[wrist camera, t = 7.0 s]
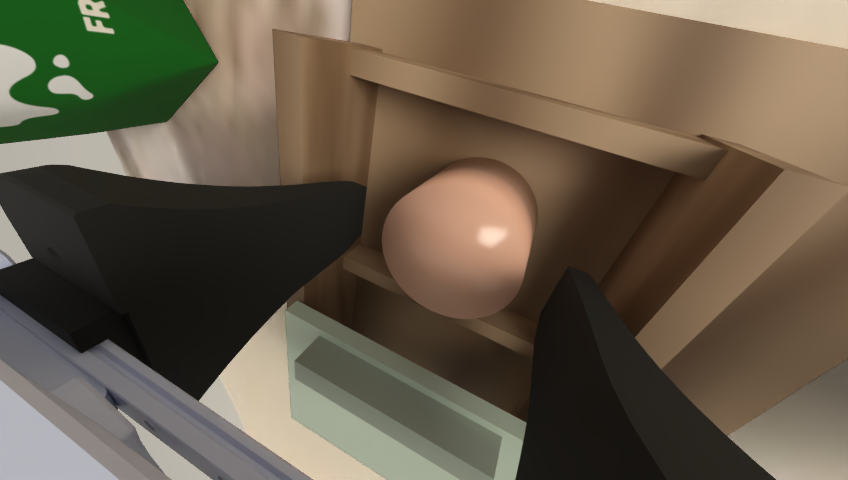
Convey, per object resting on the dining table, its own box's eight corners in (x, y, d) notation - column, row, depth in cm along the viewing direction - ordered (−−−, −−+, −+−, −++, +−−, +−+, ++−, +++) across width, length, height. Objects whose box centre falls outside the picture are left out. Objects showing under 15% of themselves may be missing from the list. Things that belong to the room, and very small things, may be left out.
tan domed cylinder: (559, 180, 11) (553, 222, 8) (512, 278, 14) (493, 340, 10) (440, 141, 12) (393, 163, 9) (417, 238, 15) (374, 283, 12)
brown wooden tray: (1178, 116, 6) (2153, 177, 2) (586, 516, 20) (590, 623, 16) (363, -39, 11) (249, -103, 7) (333, 368, 24) (287, 423, 21)
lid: (558, 439, 11) (555, 507, 9) (480, 521, 16) (469, 576, 14) (296, 300, 13) (257, 332, 12) (300, 406, 18) (272, 440, 17)
